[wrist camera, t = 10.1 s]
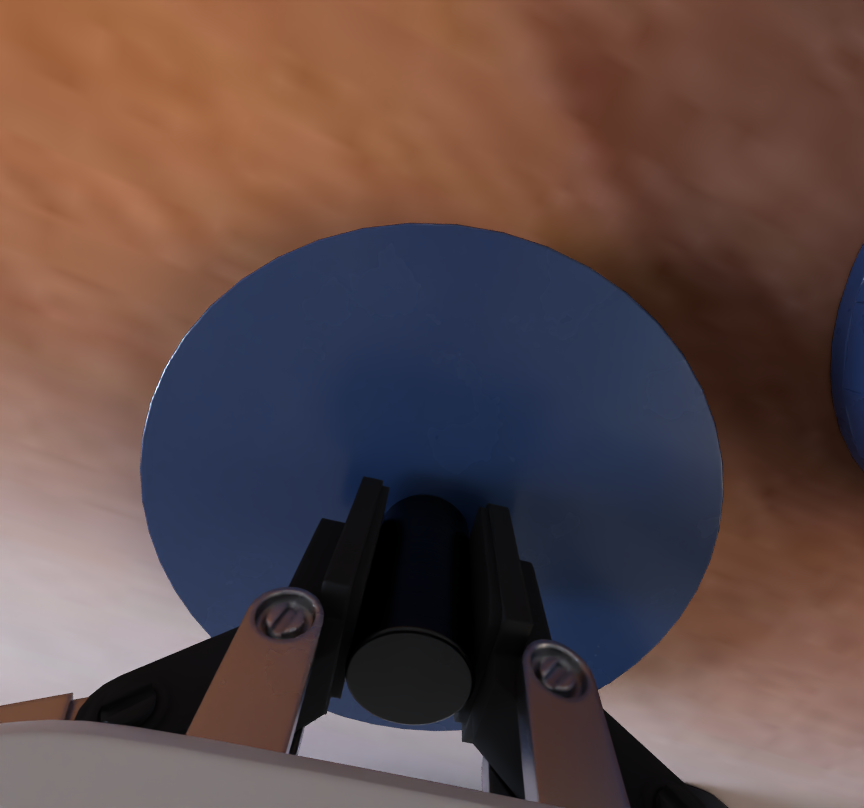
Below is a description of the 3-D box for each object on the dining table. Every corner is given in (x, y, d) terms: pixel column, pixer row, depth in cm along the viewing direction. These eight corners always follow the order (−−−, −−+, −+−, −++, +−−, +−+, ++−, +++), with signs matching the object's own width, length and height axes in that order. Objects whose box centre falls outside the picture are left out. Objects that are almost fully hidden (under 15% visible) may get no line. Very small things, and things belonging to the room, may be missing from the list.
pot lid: (74, 284, 12) (-243, 316, 6) (711, 166, 10) (998, 78, 5) (254, 716, 17) (162, 934, 11) (695, 680, 15) (825, 913, 10)
